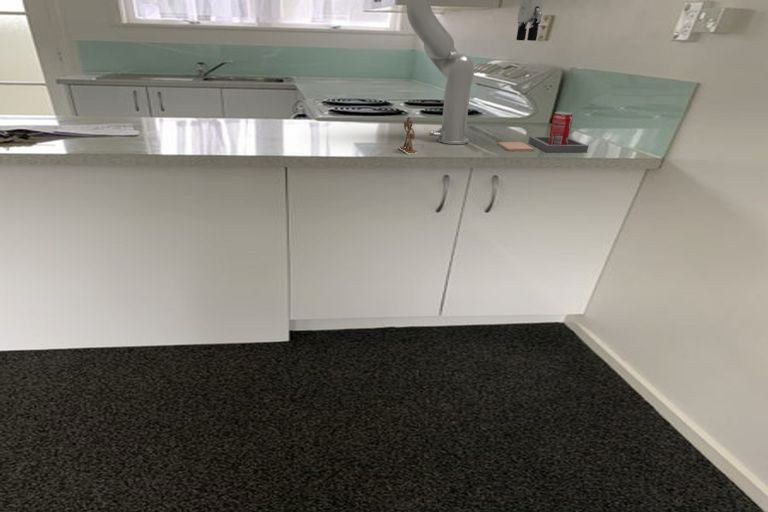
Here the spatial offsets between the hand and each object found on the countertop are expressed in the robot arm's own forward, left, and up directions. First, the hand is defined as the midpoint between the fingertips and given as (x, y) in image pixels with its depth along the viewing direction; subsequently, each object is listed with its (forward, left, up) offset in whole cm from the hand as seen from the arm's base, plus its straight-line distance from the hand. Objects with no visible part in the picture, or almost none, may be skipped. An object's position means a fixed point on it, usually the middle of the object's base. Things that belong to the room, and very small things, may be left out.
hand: (525, 40), depth 154 cm
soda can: (+15, -10, -37) cm, 41 cm away
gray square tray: (+15, -10, -37) cm, 41 cm away
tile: (-2, -10, -37) cm, 38 cm away
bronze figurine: (-45, -17, -37) cm, 61 cm away
